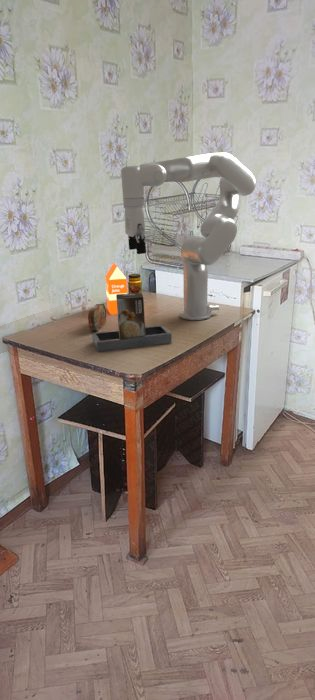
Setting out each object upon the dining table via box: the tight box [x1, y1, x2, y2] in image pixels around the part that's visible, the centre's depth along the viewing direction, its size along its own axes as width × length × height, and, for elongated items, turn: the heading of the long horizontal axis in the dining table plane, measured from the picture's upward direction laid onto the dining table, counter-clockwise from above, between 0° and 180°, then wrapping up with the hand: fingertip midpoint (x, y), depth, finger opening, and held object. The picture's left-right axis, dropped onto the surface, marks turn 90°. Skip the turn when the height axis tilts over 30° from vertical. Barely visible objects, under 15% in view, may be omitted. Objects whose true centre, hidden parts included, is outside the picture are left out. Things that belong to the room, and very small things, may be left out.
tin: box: [87, 303, 107, 332], centre depth 198 cm, size 15×3×8 cm, turn 168°
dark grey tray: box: [91, 324, 173, 353], centre depth 181 cm, size 26×10×4 cm, turn 107°
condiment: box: [127, 273, 147, 302], centre depth 233 cm, size 7×8×12 cm
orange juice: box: [105, 262, 128, 315], centre depth 216 cm, size 8×9×20 cm
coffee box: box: [116, 292, 146, 339], centre depth 179 cm, size 9×6×16 cm
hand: (137, 251), depth 189 cm, fingers open, 9 cm apart
